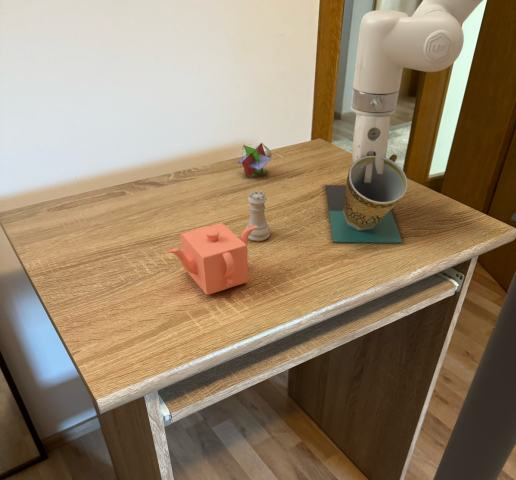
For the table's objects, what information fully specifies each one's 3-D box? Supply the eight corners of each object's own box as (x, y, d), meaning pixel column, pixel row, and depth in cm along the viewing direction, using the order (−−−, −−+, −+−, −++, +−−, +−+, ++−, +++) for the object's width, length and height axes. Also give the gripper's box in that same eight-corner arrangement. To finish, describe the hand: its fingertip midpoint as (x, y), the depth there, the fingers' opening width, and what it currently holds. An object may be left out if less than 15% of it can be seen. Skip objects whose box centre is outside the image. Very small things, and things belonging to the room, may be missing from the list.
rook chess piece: (270, 230, 90) (270, 188, 84) (270, 242, 86) (270, 199, 81) (246, 230, 90) (244, 188, 84) (245, 242, 86) (243, 199, 81)
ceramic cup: (372, 248, 87) (391, 213, 78) (324, 220, 88) (337, 183, 79) (403, 200, 92) (424, 162, 83) (357, 175, 93) (373, 135, 84)
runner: (382, 186, 103) (382, 185, 103) (402, 243, 85) (402, 242, 85) (325, 186, 104) (325, 185, 104) (333, 242, 86) (333, 241, 86)
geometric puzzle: (248, 176, 103) (264, 139, 101) (226, 167, 107) (241, 132, 105) (267, 187, 109) (282, 152, 107) (245, 179, 112) (259, 145, 111)
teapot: (158, 274, 79) (150, 227, 73) (240, 250, 84) (238, 204, 79) (187, 312, 71) (181, 263, 66) (275, 283, 77) (276, 235, 71)
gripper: (404, 114, 75) (384, 222, 87) (390, 88, 86) (374, 188, 99) (355, 113, 76) (342, 221, 88) (348, 88, 87) (337, 187, 99)
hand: (359, 203), depth 93 cm, fingers closed
